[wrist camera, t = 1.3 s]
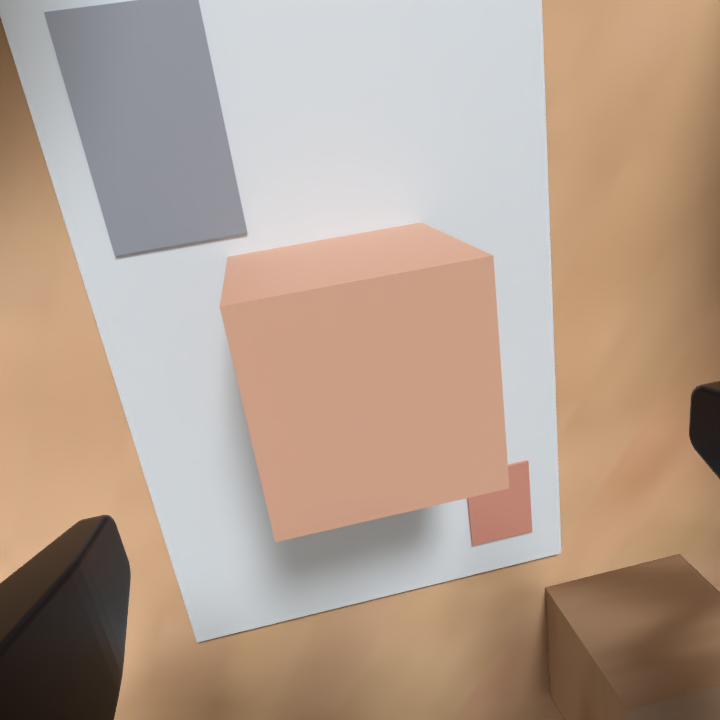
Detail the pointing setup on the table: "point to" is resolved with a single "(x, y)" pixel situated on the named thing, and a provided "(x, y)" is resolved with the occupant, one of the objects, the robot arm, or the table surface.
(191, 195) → the envelope
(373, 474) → the block
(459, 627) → the table surface
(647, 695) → the walnut block
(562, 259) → the table surface
